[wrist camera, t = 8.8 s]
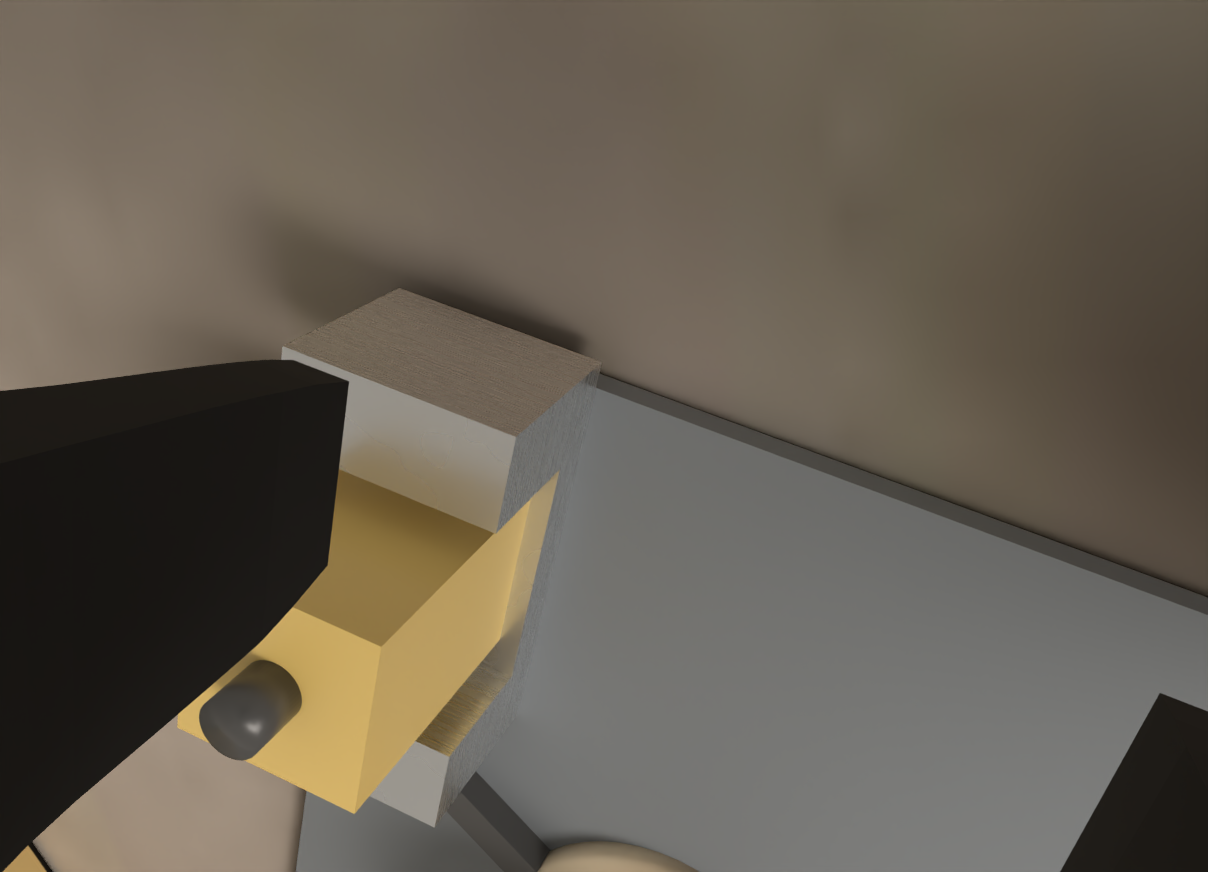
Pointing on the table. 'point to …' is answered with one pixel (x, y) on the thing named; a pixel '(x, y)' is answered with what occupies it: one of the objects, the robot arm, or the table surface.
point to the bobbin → (609, 859)
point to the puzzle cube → (28, 861)
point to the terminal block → (461, 482)
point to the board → (797, 674)
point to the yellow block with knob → (365, 646)
